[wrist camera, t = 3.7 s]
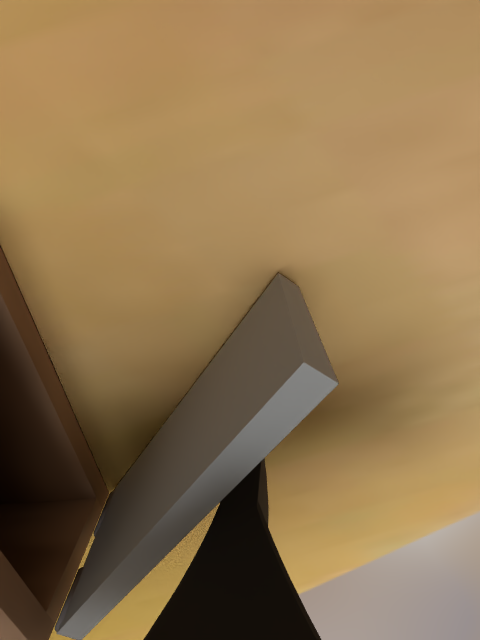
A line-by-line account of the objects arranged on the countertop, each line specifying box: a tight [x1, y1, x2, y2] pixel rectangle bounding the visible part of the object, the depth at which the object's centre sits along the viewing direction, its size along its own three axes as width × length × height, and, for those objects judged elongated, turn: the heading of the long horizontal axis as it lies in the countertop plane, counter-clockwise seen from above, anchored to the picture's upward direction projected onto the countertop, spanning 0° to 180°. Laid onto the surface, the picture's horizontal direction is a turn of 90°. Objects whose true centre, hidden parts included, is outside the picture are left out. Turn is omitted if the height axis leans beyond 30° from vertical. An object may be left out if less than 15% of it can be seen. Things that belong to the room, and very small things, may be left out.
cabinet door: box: [55, 273, 339, 640], centre depth 10 cm, size 2×13×5 cm, turn 146°
